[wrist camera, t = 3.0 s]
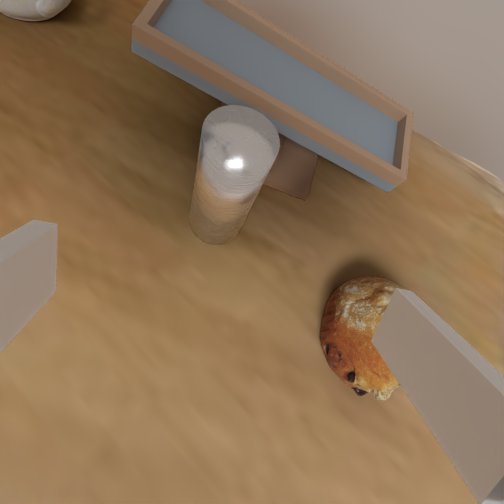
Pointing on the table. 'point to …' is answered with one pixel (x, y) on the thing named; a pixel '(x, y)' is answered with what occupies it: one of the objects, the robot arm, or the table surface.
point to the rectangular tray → (278, 83)
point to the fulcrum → (291, 168)
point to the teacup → (32, 9)
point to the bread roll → (358, 335)
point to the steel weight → (230, 170)
